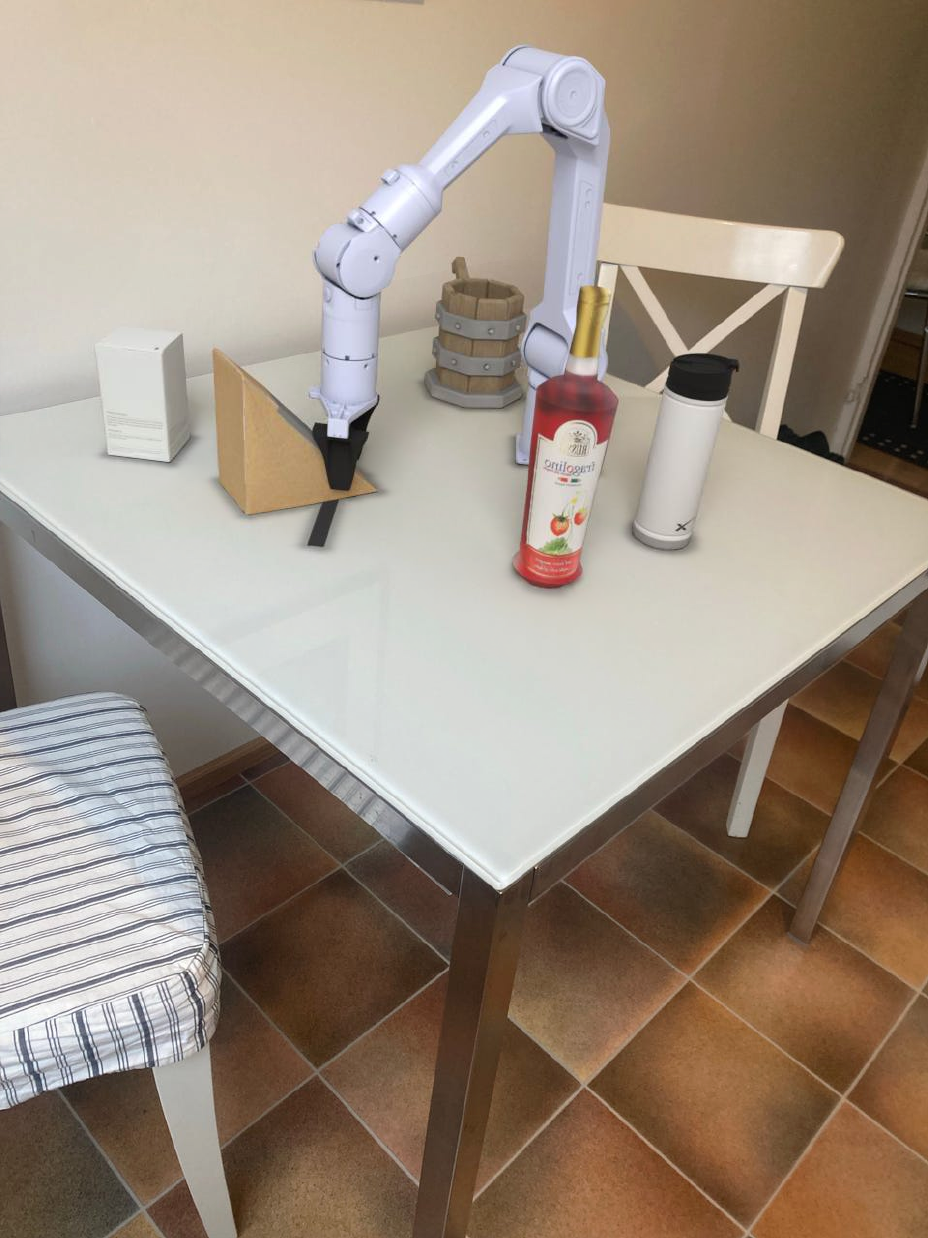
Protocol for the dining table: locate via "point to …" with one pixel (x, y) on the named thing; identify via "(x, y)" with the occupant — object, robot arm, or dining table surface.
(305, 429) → the sandwich container
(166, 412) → the white packaging box
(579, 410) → the liquor
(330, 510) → the tape line
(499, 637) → the dining table surface
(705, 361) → the travel mug
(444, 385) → the tankard
